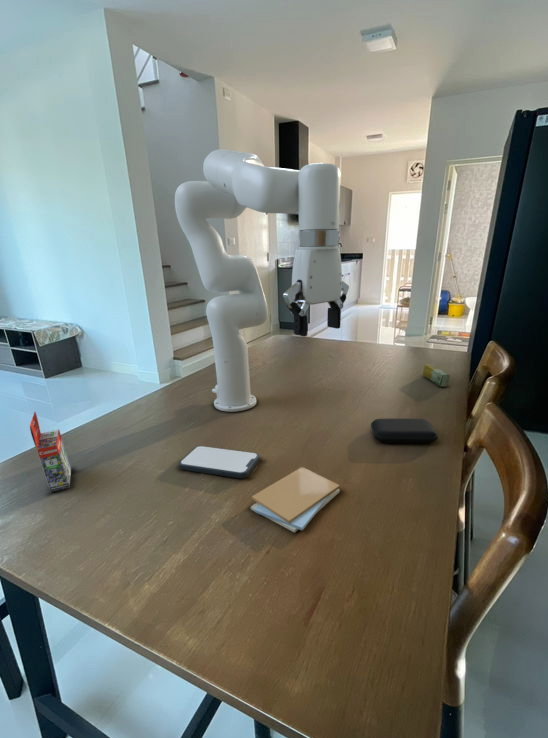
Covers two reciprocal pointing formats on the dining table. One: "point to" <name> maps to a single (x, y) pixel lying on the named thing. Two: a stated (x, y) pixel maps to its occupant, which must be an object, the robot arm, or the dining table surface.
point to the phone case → (220, 461)
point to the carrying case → (403, 430)
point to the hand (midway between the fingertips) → (317, 331)
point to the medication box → (436, 375)
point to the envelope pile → (295, 498)
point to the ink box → (51, 456)
